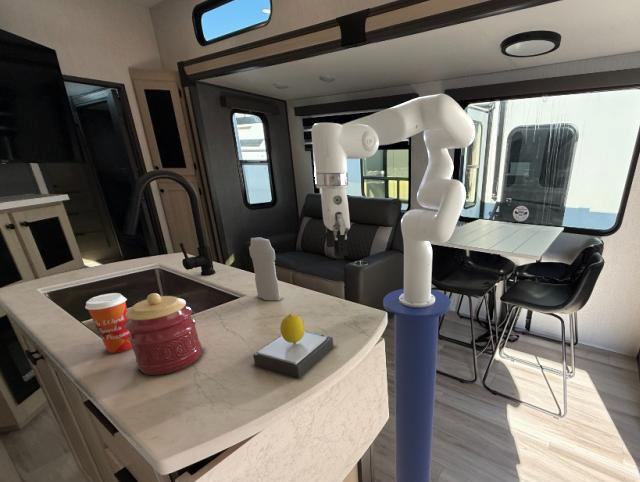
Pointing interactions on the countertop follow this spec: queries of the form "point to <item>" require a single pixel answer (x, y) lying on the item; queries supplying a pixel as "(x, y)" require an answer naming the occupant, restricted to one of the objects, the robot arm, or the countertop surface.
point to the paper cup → (110, 320)
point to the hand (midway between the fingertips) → (336, 250)
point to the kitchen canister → (162, 334)
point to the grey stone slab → (264, 269)
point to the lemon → (292, 328)
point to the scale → (294, 354)
